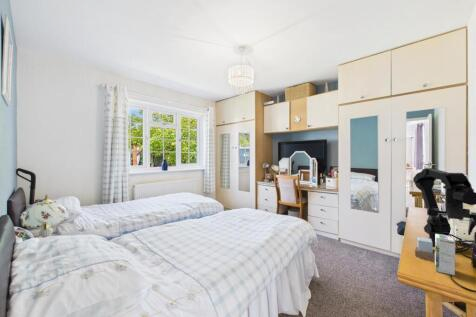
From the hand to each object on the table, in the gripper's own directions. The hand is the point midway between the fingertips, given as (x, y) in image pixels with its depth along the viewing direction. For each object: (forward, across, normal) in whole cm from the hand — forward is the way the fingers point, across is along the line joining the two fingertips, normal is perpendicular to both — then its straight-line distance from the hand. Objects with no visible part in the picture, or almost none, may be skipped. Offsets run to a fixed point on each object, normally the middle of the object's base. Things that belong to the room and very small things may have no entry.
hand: (454, 232), depth 97 cm
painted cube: (+9, -10, -6) cm, 15 cm away
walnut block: (+12, -10, -6) cm, 17 cm away
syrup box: (+12, -4, -17) cm, 21 cm away
